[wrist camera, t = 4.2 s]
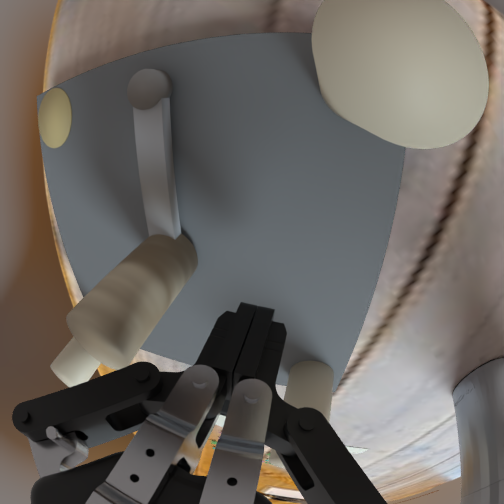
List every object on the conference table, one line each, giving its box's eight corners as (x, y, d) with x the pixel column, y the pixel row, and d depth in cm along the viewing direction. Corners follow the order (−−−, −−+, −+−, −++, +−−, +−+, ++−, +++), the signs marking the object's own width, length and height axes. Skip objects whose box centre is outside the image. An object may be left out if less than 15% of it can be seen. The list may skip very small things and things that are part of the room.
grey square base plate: (394, 58, 10) (500, 0, 1) (336, 366, 23) (324, 474, 14) (62, 91, 16) (-45, 121, 7) (114, 316, 29) (61, 383, 19)
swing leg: (128, 76, 11) (3, 90, 5) (184, 64, 11) (53, 53, 4) (153, 273, 18) (84, 355, 11) (200, 281, 17) (137, 379, 11)
